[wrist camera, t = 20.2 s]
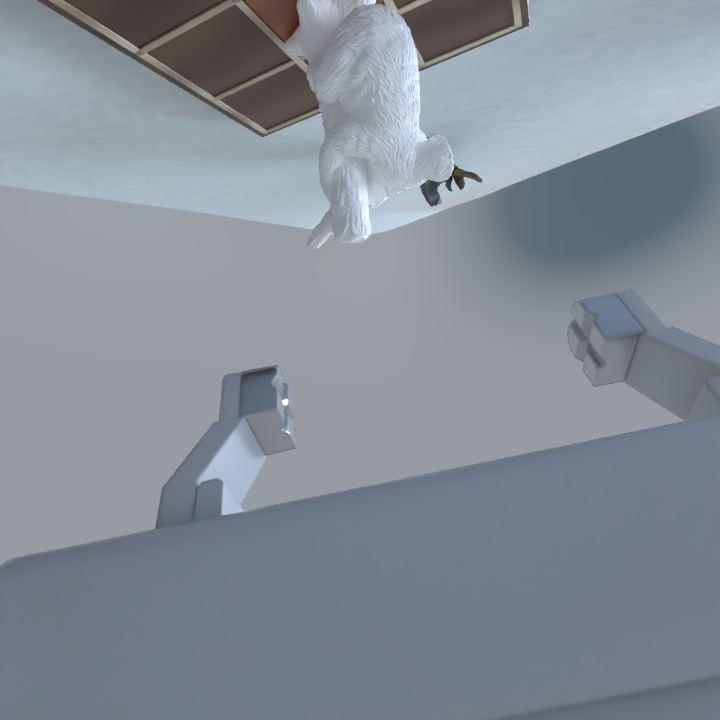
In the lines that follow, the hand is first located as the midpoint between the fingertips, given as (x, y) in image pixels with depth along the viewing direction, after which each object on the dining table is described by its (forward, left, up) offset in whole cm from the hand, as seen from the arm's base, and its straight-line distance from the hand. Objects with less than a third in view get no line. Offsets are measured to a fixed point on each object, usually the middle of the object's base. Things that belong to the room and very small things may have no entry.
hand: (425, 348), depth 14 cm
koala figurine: (-12, +4, -18) cm, 22 cm away
